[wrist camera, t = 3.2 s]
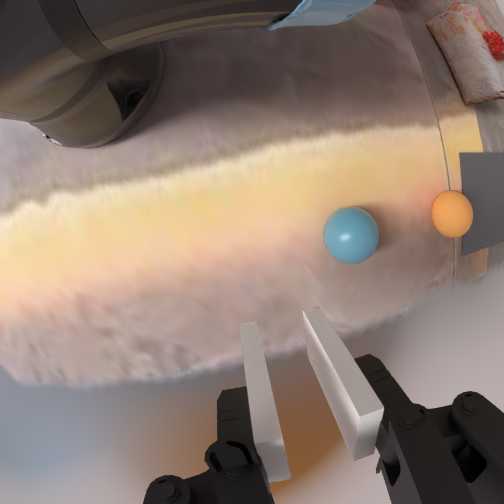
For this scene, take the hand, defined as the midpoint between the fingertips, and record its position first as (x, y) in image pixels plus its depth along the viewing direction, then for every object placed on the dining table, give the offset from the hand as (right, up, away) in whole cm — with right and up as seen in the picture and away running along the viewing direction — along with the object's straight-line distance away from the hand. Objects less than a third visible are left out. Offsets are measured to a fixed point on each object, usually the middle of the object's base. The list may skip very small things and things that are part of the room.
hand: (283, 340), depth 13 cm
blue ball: (+8, +6, +14) cm, 17 cm away
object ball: (+22, +8, +14) cm, 27 cm away
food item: (+26, +31, +11) cm, 42 cm away
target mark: (+33, +12, +17) cm, 39 cm away
